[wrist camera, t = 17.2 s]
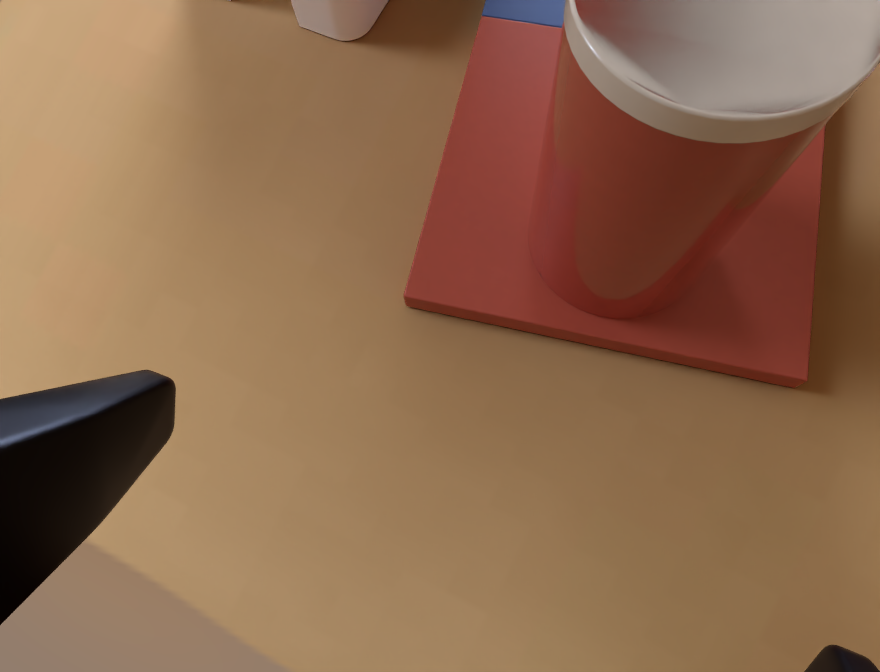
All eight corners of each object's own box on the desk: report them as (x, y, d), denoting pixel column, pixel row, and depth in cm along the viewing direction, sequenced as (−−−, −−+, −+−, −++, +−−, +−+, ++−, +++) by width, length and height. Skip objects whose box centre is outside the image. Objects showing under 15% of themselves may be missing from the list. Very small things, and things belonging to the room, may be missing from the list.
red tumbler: (742, 276, 23) (969, 44, 12) (576, 349, 22) (669, 169, 12) (650, 135, 25) (779, -167, 14) (496, 198, 24) (515, -68, 14)
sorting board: (794, 388, 22) (808, 381, 22) (405, 306, 24) (402, 296, 23) (834, -140, 30) (846, -162, 29) (538, -174, 32) (540, -197, 31)
